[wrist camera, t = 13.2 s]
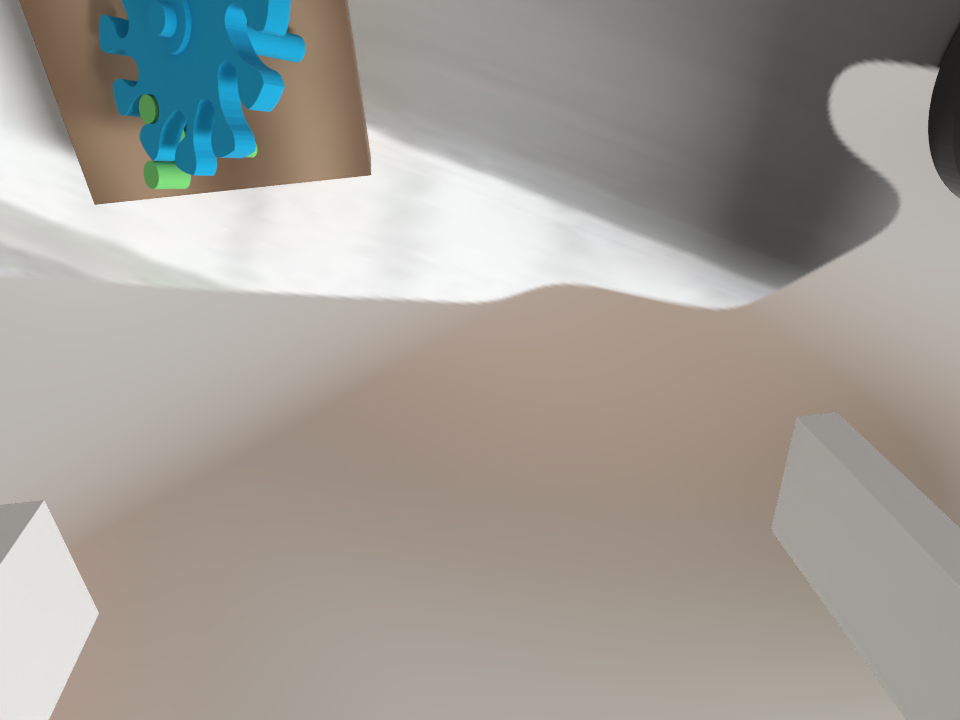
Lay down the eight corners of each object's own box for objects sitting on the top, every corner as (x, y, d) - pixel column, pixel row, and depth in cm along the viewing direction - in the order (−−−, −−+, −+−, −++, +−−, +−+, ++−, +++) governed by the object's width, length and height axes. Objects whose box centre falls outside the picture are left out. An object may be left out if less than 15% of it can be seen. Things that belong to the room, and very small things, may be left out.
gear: (103, -212, 21) (290, -83, 18) (258, -138, 26) (430, -25, 22) (61, 111, 27) (198, 256, 23) (195, 123, 31) (325, 245, 28)
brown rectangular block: (321, -171, 27) (314, -194, 23) (370, 155, 33) (370, 175, 30) (10, -153, 26) (-45, -174, 22) (124, 181, 32) (94, 204, 29)
